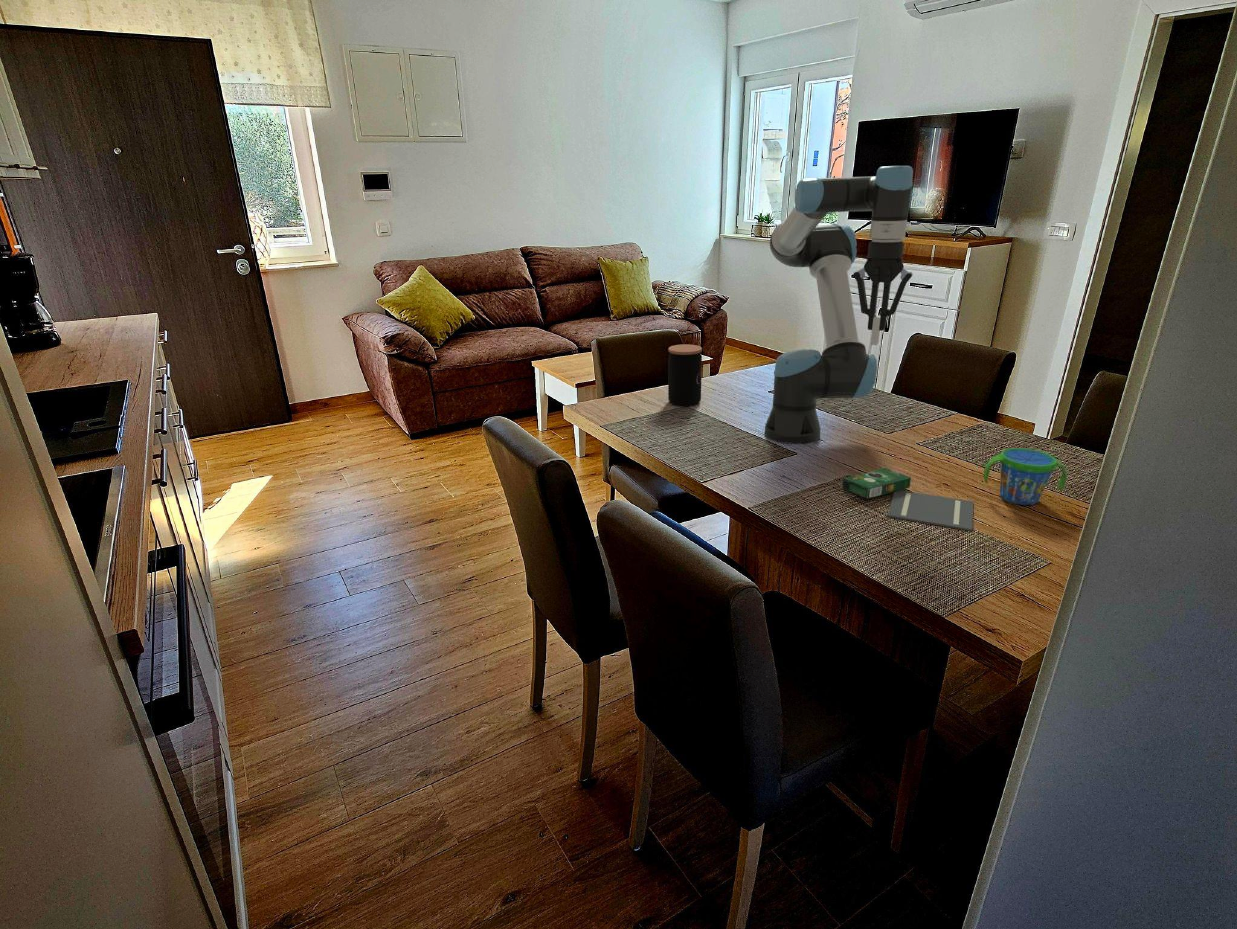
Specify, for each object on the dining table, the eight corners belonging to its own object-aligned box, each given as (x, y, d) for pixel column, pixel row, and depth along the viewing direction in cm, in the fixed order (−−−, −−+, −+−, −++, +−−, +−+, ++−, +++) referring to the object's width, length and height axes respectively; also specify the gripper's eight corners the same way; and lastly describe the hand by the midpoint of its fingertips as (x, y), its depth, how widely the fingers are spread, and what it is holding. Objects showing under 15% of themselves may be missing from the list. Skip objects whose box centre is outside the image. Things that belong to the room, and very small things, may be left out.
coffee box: (868, 500, 148) (911, 488, 153) (869, 488, 147) (912, 476, 153) (841, 489, 155) (883, 478, 160) (842, 478, 154) (884, 466, 159)
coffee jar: (702, 407, 214) (703, 351, 207) (669, 407, 215) (669, 352, 208) (699, 397, 224) (700, 343, 217) (667, 398, 224) (667, 344, 218)
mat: (887, 516, 142) (887, 514, 142) (894, 490, 153) (895, 489, 153) (971, 531, 135) (972, 529, 135) (973, 503, 147) (973, 501, 146)
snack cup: (1055, 494, 149) (1065, 451, 146) (1065, 514, 140) (1076, 469, 137) (977, 485, 155) (985, 444, 151) (981, 504, 146) (990, 461, 142)
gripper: (854, 241, 152) (843, 345, 161) (916, 242, 146) (901, 349, 155) (859, 238, 158) (848, 338, 167) (919, 239, 152) (905, 342, 161)
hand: (874, 343), depth 161 cm, fingers closed
